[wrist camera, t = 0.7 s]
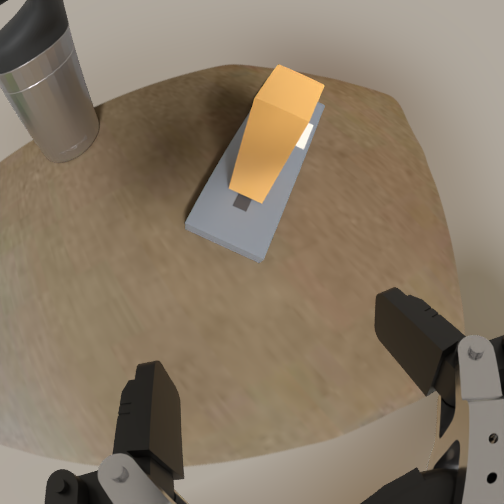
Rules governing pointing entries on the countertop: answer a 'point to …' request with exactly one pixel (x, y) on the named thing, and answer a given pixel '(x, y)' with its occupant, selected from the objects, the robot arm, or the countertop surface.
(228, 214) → the switch panel
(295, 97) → the slider tab
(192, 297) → the countertop surface
